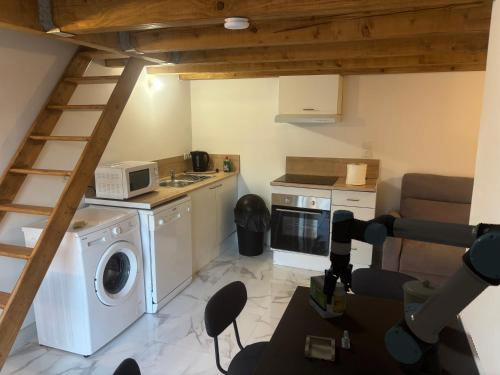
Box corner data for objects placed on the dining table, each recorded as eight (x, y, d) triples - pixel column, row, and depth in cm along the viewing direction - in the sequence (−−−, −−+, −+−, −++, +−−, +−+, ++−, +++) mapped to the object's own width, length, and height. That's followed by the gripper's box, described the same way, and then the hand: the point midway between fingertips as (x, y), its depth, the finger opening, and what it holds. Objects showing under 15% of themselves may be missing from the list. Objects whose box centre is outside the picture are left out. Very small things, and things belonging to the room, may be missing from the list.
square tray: (306, 340, 152) (306, 335, 152) (334, 344, 150) (334, 338, 149) (304, 356, 141) (304, 350, 141) (334, 361, 139) (334, 354, 139)
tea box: (308, 304, 184) (309, 275, 181) (326, 301, 187) (328, 273, 184) (323, 319, 170) (325, 288, 167) (342, 316, 173) (344, 286, 170)
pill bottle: (325, 312, 142) (327, 285, 140) (330, 305, 148) (332, 279, 146) (341, 316, 139) (343, 289, 138) (346, 309, 145) (348, 283, 143)
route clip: (349, 340, 153) (349, 331, 153) (349, 349, 147) (350, 339, 146) (341, 339, 154) (342, 330, 153) (342, 347, 148) (342, 338, 147)
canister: (402, 332, 160) (407, 285, 157) (396, 312, 178) (400, 269, 174) (448, 338, 156) (454, 290, 153) (438, 317, 173) (442, 274, 170)
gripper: (349, 244, 148) (344, 298, 152) (314, 253, 137) (311, 311, 141) (364, 249, 142) (360, 306, 146) (330, 259, 131) (326, 320, 135)
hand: (336, 308), depth 143 cm, fingers closed on pill bottle, 6 cm apart
